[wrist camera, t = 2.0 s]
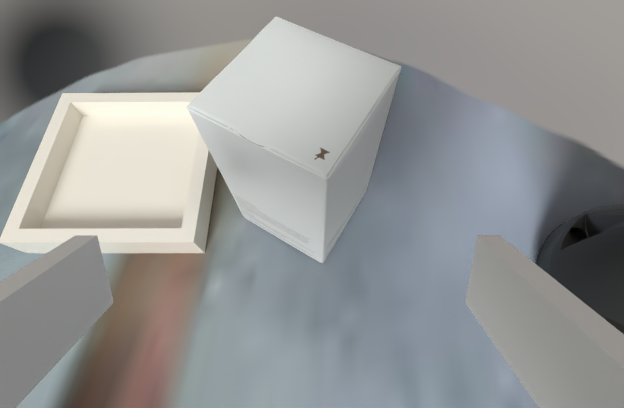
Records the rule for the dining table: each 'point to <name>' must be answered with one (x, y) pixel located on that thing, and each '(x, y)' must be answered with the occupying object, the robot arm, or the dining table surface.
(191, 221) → the stoneware dish
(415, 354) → the dining table surface
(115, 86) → the dining table surface
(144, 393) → the dining table surface
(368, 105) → the supplement box
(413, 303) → the dining table surface
